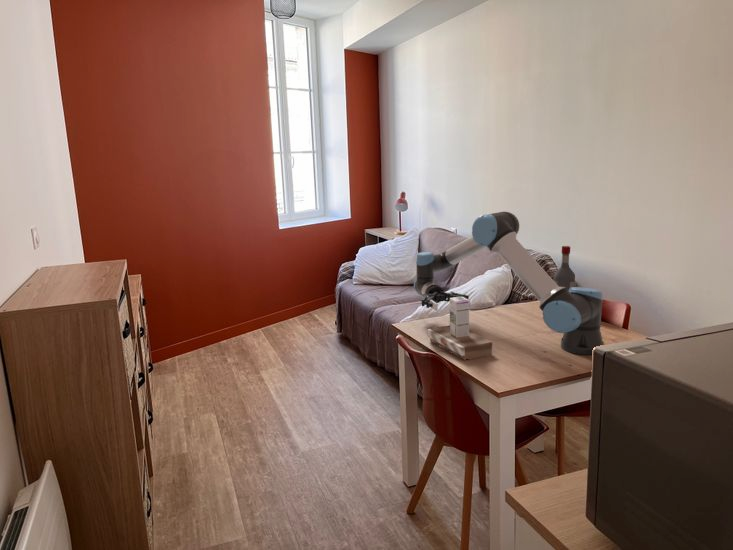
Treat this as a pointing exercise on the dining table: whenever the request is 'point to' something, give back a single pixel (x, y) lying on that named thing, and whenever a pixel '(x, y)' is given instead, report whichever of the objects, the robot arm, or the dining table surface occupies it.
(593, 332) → the robot arm
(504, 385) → the dining table surface
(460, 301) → the syrup box
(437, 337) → the striped flat box
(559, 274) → the liquor
